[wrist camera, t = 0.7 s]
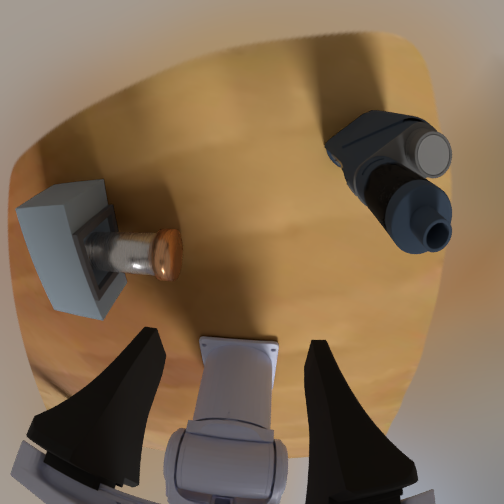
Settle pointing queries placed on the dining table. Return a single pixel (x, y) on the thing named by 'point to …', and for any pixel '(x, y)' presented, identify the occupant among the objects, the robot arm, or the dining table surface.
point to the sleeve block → (71, 246)
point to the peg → (137, 253)
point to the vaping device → (398, 176)
